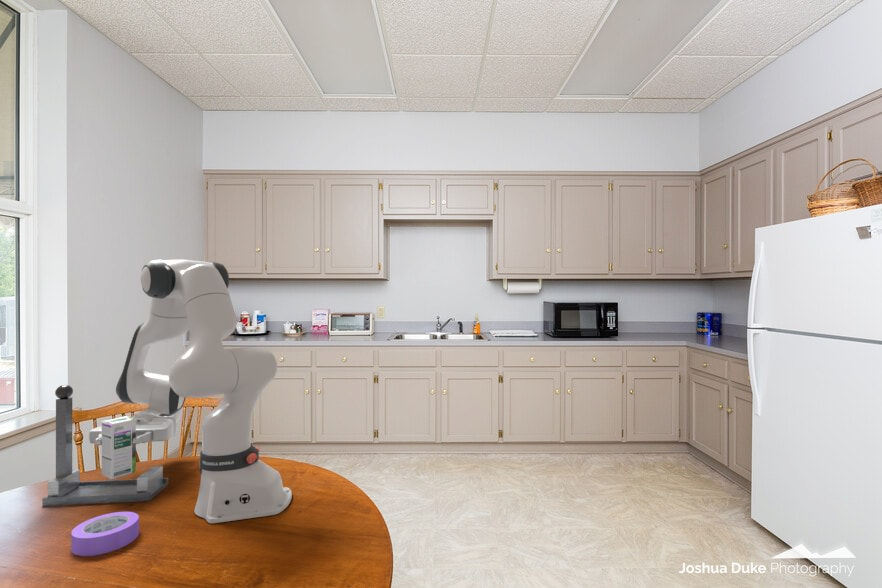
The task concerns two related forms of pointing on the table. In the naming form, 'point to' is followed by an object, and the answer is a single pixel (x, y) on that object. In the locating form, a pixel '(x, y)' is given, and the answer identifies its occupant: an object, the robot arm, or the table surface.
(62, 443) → the ball-topped square post
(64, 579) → the table surface
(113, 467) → the syrup box
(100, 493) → the tray
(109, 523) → the masking tape
